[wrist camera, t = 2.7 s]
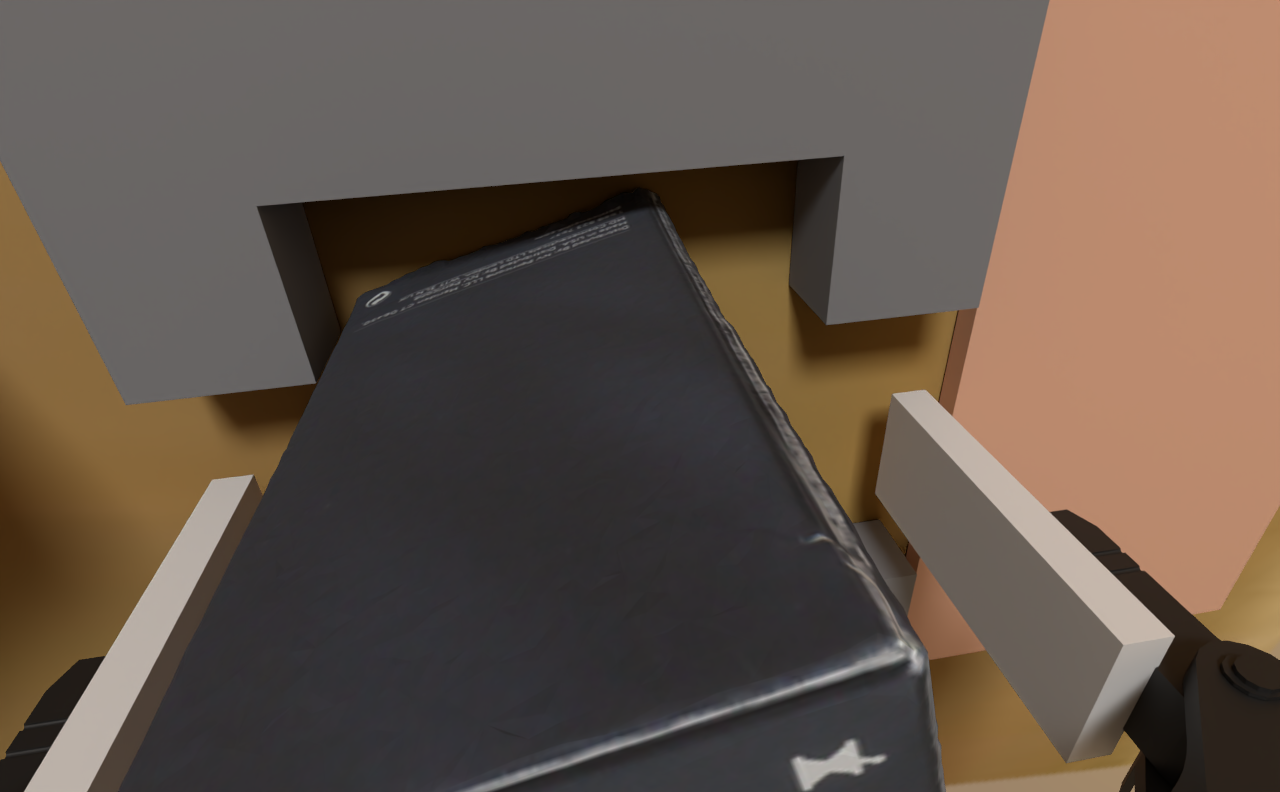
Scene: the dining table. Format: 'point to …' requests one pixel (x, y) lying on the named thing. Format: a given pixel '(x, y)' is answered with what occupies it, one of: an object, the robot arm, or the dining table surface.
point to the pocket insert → (486, 148)
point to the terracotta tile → (1135, 295)
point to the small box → (548, 557)
